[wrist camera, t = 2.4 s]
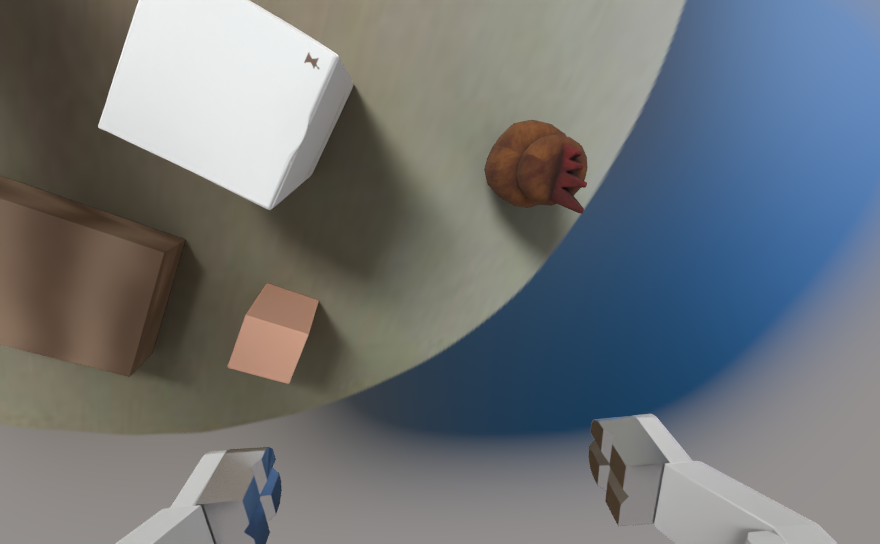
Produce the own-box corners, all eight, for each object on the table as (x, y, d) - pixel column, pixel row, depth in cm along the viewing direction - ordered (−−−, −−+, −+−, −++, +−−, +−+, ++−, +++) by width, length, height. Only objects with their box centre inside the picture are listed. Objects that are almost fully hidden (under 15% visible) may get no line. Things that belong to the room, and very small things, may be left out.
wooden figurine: (514, 207, 40) (592, 251, 26) (465, 176, 38) (520, 205, 24) (555, 144, 38) (659, 155, 24) (506, 109, 37) (589, 99, 23)
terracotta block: (250, 327, 40) (227, 367, 33) (266, 282, 39) (245, 314, 32) (301, 343, 41) (288, 384, 35) (318, 300, 40) (308, 334, 33)
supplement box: (249, 17, 32) (151, -68, 18) (356, 82, 34) (345, 53, 20) (205, 126, 34) (87, 127, 20) (310, 180, 36) (271, 214, 22)
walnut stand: (-26, 305, 35) (-73, 326, 31) (-5, 174, 32) (-54, 180, 29) (152, 352, 39) (129, 376, 35) (185, 239, 36) (164, 252, 32)
